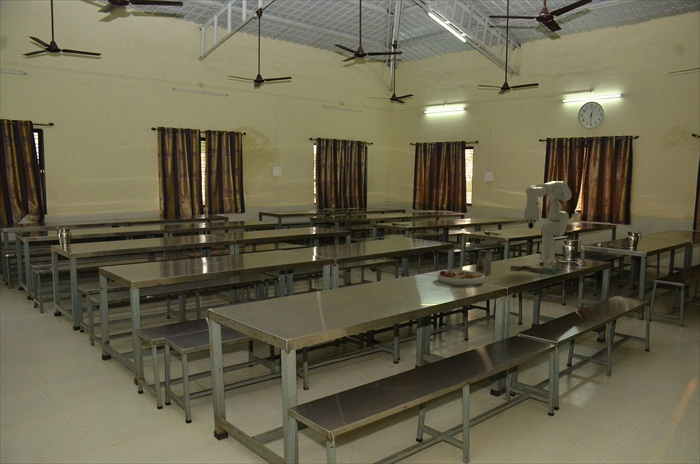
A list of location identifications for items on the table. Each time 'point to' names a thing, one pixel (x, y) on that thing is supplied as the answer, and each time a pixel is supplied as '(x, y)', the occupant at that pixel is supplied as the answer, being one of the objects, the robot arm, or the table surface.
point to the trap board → (532, 268)
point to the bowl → (460, 277)
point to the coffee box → (483, 261)
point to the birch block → (548, 264)
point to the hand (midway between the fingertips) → (531, 228)
